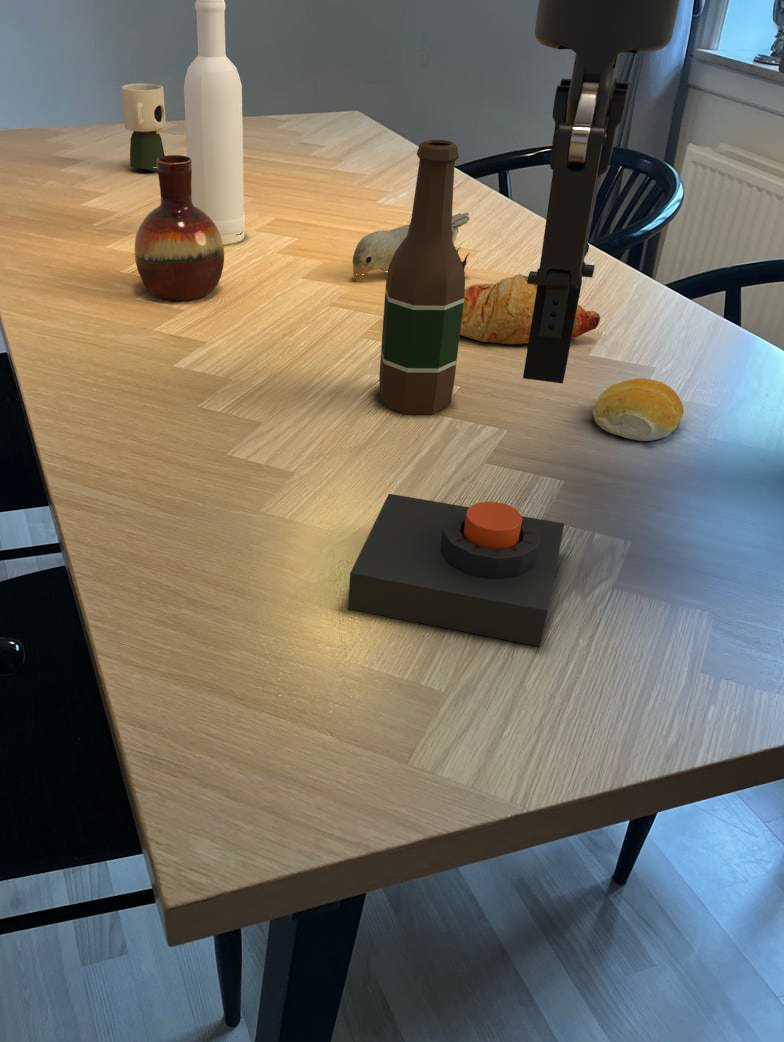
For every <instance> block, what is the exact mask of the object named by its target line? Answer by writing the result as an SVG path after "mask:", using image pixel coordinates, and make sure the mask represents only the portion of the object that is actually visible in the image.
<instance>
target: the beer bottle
mask: <svg viewBox="0 0 784 1042" xmlns="http://www.w3.org/2000/svg"><path fill="white" fill-rule="evenodd" d="M416 155H417V157H418V159H419V160H418V169H417V176H416V184H415V190H414V198H413V202H412V203H413V204H412V212H411V218H410V222H409V224H410V226H409V230H408V234H407V237H406V238H405V239H404V241H403V242H402V243H401V245H400V246H399V247H398V249H397V250H396V251H395V253H394V256H393V258H392V260H391V263H390V265H389V267H388V273H386V282H385V290H384V304H383V317H382V332H381V347H380V360H379V374H378V375H379V377H378V378H379V380H378V381H379V383H378V385H379V386H378V387H379V390H378V391H379V395H380V401H381V404H382V406H383V407H385V408H388V409H391V410H393V411H395V412H399V413H401V414H403V415H433V414H435V413H438V412H440V411H441V410H443V409H445V408H447V407H449V406H450V404H451V402H452V398H453V393H454V392H453V391H454V386H455V378H456V370H457V362H458V354H459V346H460V345H459V344H460V339H461V338H460V337H461V335H460V330H461V321H462V313H463V305H464V294H465V289H466V276H465V275H466V274H464V272H465V269H464V270H463V266H462V262H463V260H462V258H461V257H460V254H459V251H458V252H457V248H456V246H455V243H454V244H453V241H452V215H453V204H454V203H453V201H454V184H455V183H454V181H455V162H456V161H458V159H460V157H459V150H458V146H457V145H456V143H455V142H452V141H450V140H445V139H429V140H424V141H422V142H420V143H419V145H418V148H417V151H416Z"/></svg>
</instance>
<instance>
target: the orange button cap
mask: <svg viewBox="0 0 784 1042" xmlns="http://www.w3.org/2000/svg"><path fill="white" fill-rule="evenodd" d="M469 507H470V508H469V509H468V510H467V512H466V519H465V526H464V537H465V539H466V540H468V541H470V542H472V543H474V544H476V545H478V546H482V547H488V548H494V549H500V548H509V547H513V546H514V545H516V544H517V542H518V540H519V535H520V529H521V524H522V516H523V515H522V513H520V511H519V510H518V509H516V508H514V507H513V506H511V505H509V504H506V503H503V502H496V501H481V502H477V503H474V504H472V505H470V506H469Z"/></svg>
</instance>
